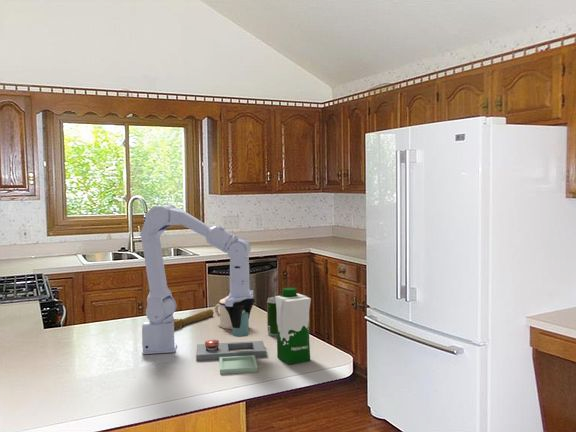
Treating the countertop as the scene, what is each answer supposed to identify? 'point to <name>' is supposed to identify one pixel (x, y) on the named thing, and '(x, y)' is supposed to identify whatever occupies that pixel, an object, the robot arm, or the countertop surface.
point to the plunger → (211, 345)
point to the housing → (224, 352)
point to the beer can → (272, 316)
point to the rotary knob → (242, 326)
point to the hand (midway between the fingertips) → (240, 325)
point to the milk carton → (293, 326)
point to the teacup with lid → (223, 314)
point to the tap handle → (192, 318)
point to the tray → (238, 364)
